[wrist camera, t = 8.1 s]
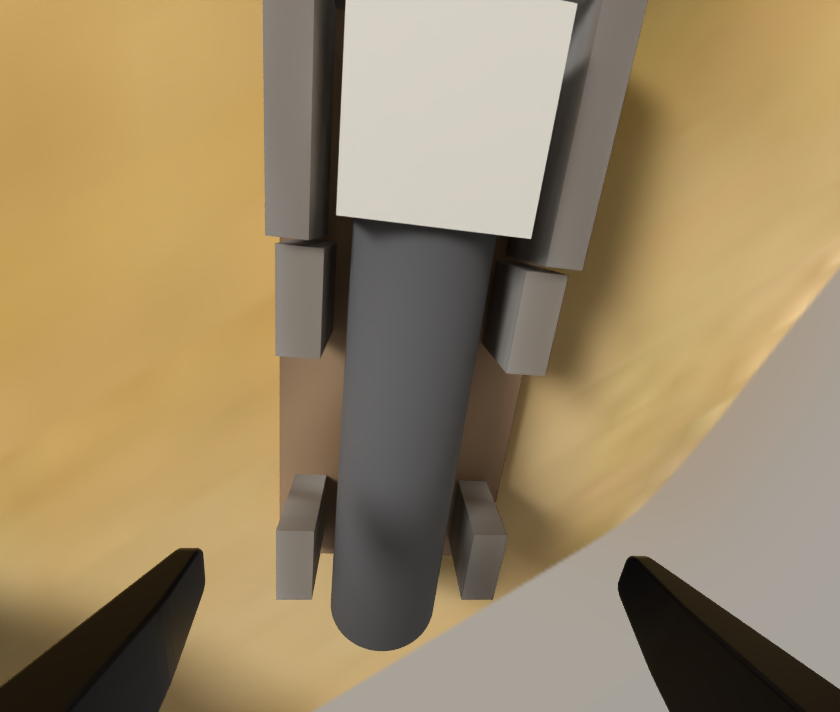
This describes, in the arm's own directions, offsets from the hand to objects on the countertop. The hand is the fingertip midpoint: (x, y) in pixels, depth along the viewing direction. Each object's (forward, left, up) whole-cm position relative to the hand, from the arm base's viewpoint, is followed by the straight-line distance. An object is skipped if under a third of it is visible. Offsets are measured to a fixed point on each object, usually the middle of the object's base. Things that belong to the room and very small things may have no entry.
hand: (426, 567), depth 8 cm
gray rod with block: (0, +2, -7) cm, 7 cm away
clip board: (0, +3, -8) cm, 9 cm away
